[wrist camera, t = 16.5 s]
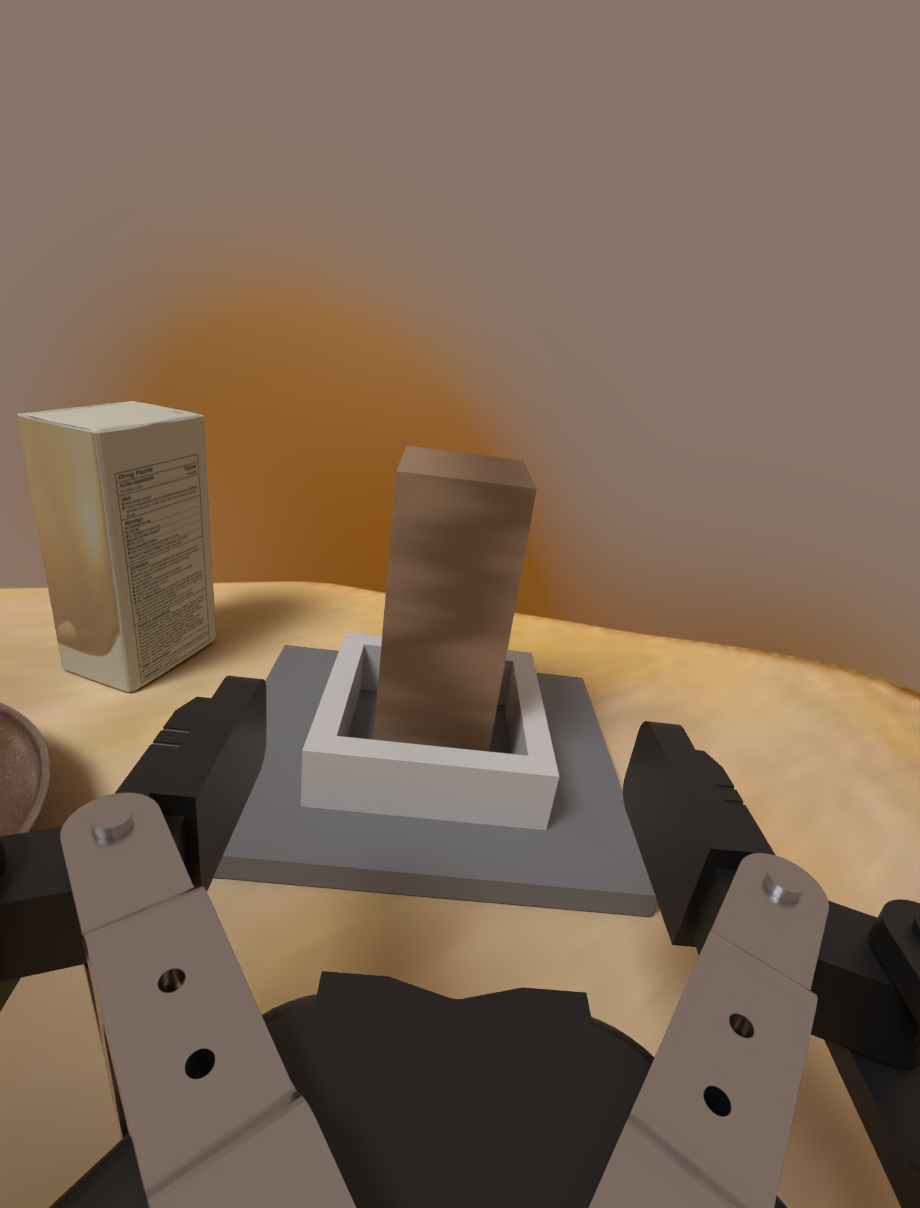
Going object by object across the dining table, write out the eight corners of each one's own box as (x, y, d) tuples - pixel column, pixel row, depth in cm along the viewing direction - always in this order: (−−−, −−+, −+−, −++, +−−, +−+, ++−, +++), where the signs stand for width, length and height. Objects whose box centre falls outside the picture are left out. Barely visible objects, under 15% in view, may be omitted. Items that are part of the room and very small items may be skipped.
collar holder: (174, 873, 20) (167, 790, 19) (284, 661, 33) (285, 602, 32) (651, 916, 21) (679, 840, 20) (578, 693, 34) (592, 637, 32)
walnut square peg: (370, 772, 24) (396, 471, 19) (382, 707, 28) (406, 445, 24) (483, 783, 25) (536, 489, 20) (479, 717, 29) (522, 460, 24)
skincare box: (155, 622, 35) (136, 398, 30) (219, 642, 34) (211, 413, 29) (53, 673, 29) (9, 408, 24) (126, 698, 28) (96, 426, 23)
